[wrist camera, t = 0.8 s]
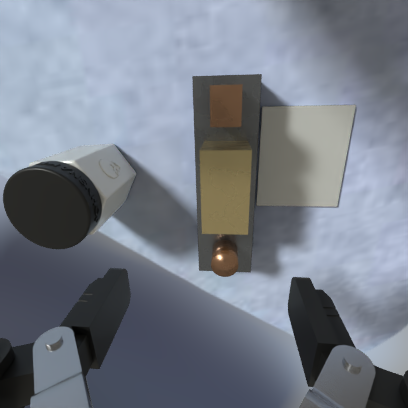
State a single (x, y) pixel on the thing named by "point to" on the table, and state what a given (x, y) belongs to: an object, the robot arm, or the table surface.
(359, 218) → the table surface
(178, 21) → the table surface
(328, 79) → the table surface
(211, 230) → the lever cap
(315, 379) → the robot arm
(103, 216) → the jar
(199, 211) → the body
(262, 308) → the table surface
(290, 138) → the felt mat
